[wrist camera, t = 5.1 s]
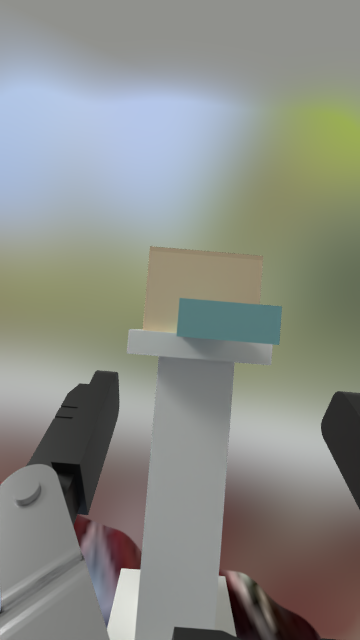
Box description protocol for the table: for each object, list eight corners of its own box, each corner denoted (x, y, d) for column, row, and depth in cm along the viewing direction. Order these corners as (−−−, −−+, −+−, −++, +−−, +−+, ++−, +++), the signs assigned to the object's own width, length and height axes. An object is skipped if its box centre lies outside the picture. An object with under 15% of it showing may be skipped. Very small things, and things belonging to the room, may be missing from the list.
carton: (356, 351, 10) (366, 165, 11) (98, 329, 10) (116, 144, 11) (233, 336, 33) (237, 278, 34) (153, 330, 33) (158, 271, 34)
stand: (252, 757, 21) (280, 341, 22) (83, 745, 21) (121, 328, 22) (223, 593, 34) (242, 337, 35) (120, 585, 34) (142, 329, 35)
